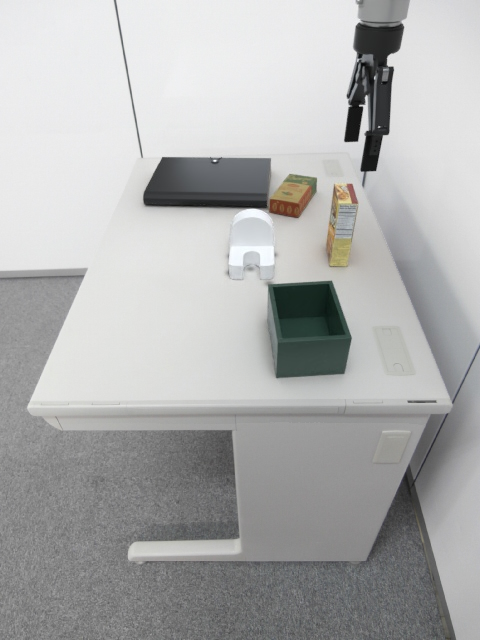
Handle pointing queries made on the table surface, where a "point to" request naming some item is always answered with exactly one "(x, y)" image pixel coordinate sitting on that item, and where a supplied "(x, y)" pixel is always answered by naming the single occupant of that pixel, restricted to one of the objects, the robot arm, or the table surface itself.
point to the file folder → (210, 182)
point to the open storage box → (307, 329)
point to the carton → (293, 195)
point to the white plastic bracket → (251, 243)
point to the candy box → (341, 224)
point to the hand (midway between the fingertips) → (359, 155)
